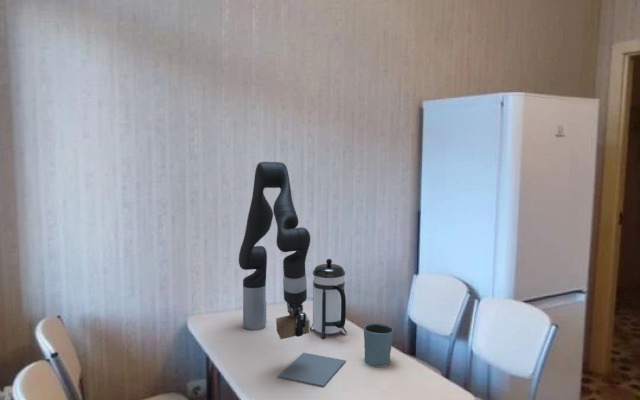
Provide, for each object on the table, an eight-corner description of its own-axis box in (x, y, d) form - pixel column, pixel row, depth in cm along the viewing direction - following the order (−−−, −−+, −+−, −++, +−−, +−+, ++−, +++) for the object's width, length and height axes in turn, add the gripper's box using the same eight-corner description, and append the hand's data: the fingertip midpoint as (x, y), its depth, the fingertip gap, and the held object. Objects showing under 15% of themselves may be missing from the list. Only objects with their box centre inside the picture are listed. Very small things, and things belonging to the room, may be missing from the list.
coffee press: (302, 337, 193) (302, 261, 190) (317, 323, 208) (318, 253, 205) (344, 344, 186) (345, 266, 183) (357, 330, 201) (358, 257, 198)
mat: (303, 354, 177) (303, 352, 177) (345, 362, 171) (345, 360, 171) (277, 377, 159) (277, 375, 159) (323, 387, 153) (323, 385, 152)
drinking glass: (357, 358, 174) (358, 325, 173) (383, 353, 178) (383, 321, 177) (372, 370, 165) (372, 335, 164) (398, 365, 169) (399, 331, 168)
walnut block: (276, 318, 164) (304, 312, 168) (276, 331, 166) (304, 324, 169) (280, 326, 160) (309, 319, 163) (280, 339, 162) (309, 332, 165)
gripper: (313, 294, 155) (314, 340, 161) (299, 274, 168) (300, 317, 173) (290, 299, 153) (292, 345, 158) (277, 278, 165) (279, 322, 171)
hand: (296, 330), depth 166 cm, fingers closed on walnut block, 5 cm apart
